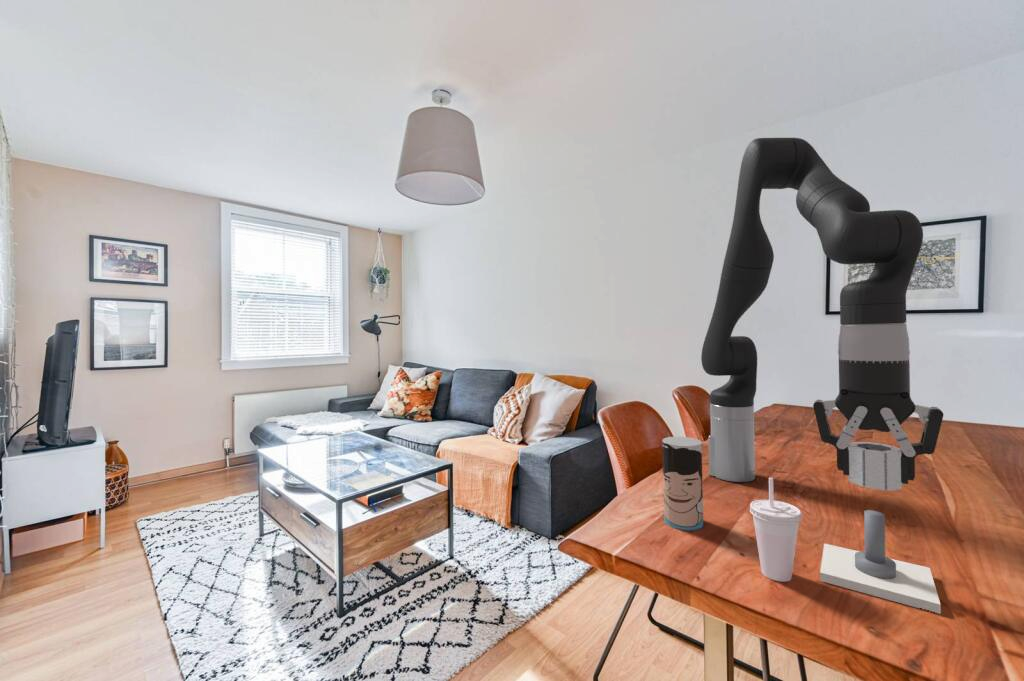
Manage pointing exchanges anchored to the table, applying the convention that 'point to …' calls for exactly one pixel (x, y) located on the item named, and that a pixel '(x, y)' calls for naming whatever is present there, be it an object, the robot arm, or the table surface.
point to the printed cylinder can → (682, 482)
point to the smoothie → (776, 535)
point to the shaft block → (879, 570)
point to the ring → (875, 465)
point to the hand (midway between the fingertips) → (874, 477)
